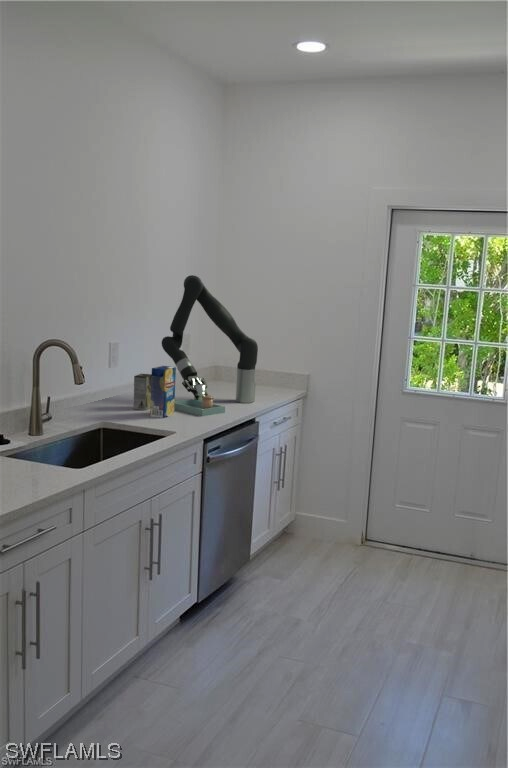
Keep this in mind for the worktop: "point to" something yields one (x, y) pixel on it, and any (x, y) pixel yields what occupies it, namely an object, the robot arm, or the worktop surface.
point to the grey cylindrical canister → (200, 391)
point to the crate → (197, 407)
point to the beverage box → (162, 391)
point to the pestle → (207, 402)
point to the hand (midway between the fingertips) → (202, 396)
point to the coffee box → (142, 391)
